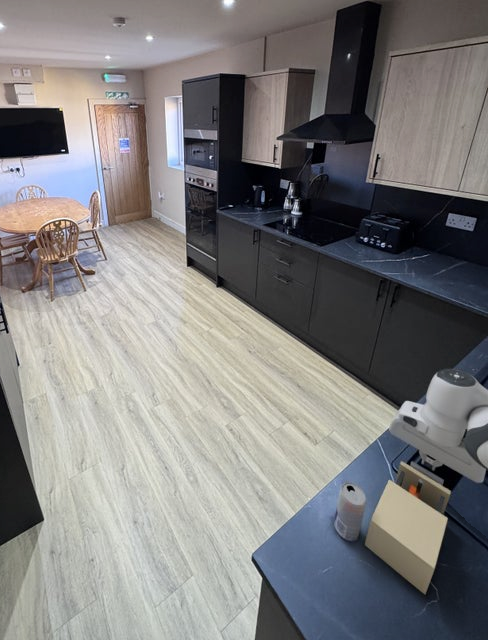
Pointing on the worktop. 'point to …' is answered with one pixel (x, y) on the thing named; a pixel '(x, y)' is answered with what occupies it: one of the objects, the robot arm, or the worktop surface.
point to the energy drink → (349, 511)
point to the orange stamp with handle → (416, 489)
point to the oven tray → (424, 485)
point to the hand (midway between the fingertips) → (428, 465)
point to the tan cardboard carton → (406, 535)
